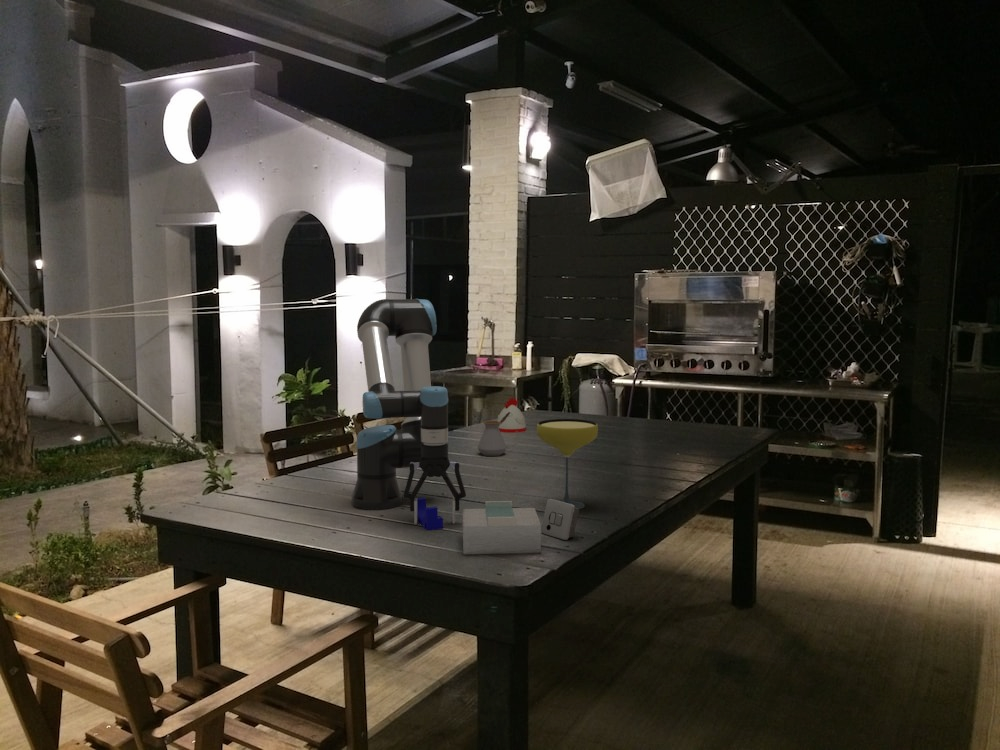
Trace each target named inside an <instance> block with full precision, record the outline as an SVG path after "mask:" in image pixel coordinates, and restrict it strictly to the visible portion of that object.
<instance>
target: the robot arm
mask: <svg viewBox="0 0 1000 750" xmlns="http://www.w3.org/2000/svg"><path fill="white" fill-rule="evenodd" d="M356 327H357V329H356V331H357V337H358V339H359V341H360V342H361V345H362V352H363V360H364V369H365V376H366V385H367V391H366V392H364V393H363V394H362V413H363V416H364V417H365V418H366V419H378V420H380V419H394V418H397V419H398V418H404V420H403V422H402V423H401V424H400V426H401V427H400V428H401V429H397V427H396V426H395V425H393V424H387V425H386V424H382V425H381V424H380V425H375V426H369V427H366V428H364V429H362V430H360V431H359V432H358V433H357V435H356V445H355V449H356V472H357V473H356V477H357V478H356V482H355V485H354V488H353V491H352V494H351V506H352V507H354V506H355V508H357V507H358V508H357V509H361V508H362V510H386V509H391V508H395V507H399V506H400V505H401V504H403V499H408V500H409V510H410V512H414V513H413V516H414V517H413V518H414V520H413V522H414V524H415V525H417V524H418V522H417V498H416V497H417V495H418V493H419V492H420V490H421V488H422V486H423V484H424V483H425V481H426V479H427V478H428V477H429V478H433V477H436V478H442V479H443V480H444V482H445V484H446V485H447V487H448V489H449V490H450V492H451V494H452V496H453V497H452V498H451V499H452V503H451V506H452V524H456V511H457V512H459V511H460V500H461V499H463V498H466V496H467V493H466V489H465V486H464V483H463V478H462V475H461V472H460V462H459V461H458V460H457V461H450V459H449V444H448V443H447V442H449V396H448V395H449V393H448V392H449V391H448V388H446V387H445V386H439V385H437V386H435V385H434V386H432V383H431V382H432V380H431V368H430V367H431V366H430V356H429V355H430V353H429V344H430V343H431V341H432V340H433V337H434V336H435V335H436V334H437V329H438V328H437V327H438V326H437V315H436V311H435V309H434V305H433V304H432V302H431V301H430V300H429V299H419V298H407V299H406V298H399V299H398V298H397V299H395V298H393V299H389V298H383V299H379V300H376V301H373V302H372V303H370V304H369V305H368V306H367V307H366V308H364V310H363V311H362V313H361V315H360V316H359V318H358V321H357V326H356ZM389 337H395V343H396V344H398V346H400V350H401V351H400V353H401V354H400V355H401V367H402V380H403V390H395V389H396V388H395V382H394V377H393V370H392V363H391V358H390V357H391V356H390V351H389V346H388V338H389ZM449 467H451V469H452V470H453V471H454V475H455V478H456V482H457V486H458V488H459V491H460V492H458V490H457V489H456V487H455V486H454V484H453V482H452V480H451V478H450V476H449V475H448V473H447V470H448V468H449ZM408 468H409V474H408V478H407V481H406V484H405V488H404V492H403V493H402V491H401V488H400V485H399V482H398V479H397V469H408ZM418 468H420V469H421V470H422V472H423V473H422V474H421V476H420V477H419V480H418V481H417V483H416V485H415V487H414V488H413V490H412V492H411V493H410V490H411V486H412V482H413V479H414V475H415V471H417V470H418Z"/></svg>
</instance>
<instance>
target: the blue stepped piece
mask: <svg viewBox="0 0 1000 750" xmlns="http://www.w3.org/2000/svg"><path fill="white" fill-rule="evenodd" d="M438 509H439V508H438V507H437V506H430V507H427V499H426V497H418V498H417V524H419V523H420V524H421V525H420V524H419V525H420V526H422V528H424V530H426V531H427V530H428V531H435V530H442V529H444V518H443V517H442V516H441V515H439V511H438Z"/></svg>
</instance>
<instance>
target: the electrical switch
mask: <svg viewBox="0 0 1000 750" xmlns="http://www.w3.org/2000/svg"><path fill="white" fill-rule="evenodd" d="M579 512H580V509H578V508H575V507H574V505H572V504H568V503H565V502H561V500H557V499H553V498H548V499H547V501H546V505H545V508H544V513H543V514H544V515H543V520H542V524H541V534H544V535H547V536H550V537H554V538H557V539H560V540H564V541H568V540H569V538H571V537H573V538H574V536H575V531H576V526H577V521H578V517H579Z"/></svg>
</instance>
